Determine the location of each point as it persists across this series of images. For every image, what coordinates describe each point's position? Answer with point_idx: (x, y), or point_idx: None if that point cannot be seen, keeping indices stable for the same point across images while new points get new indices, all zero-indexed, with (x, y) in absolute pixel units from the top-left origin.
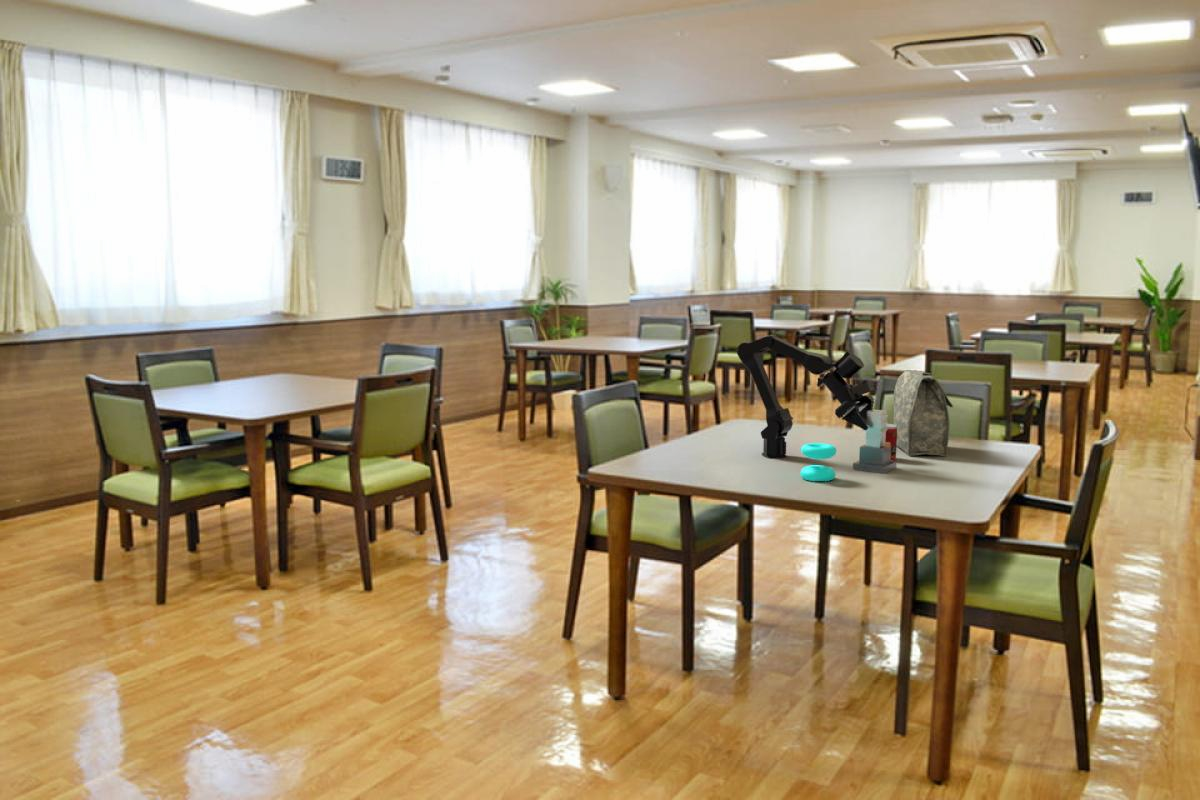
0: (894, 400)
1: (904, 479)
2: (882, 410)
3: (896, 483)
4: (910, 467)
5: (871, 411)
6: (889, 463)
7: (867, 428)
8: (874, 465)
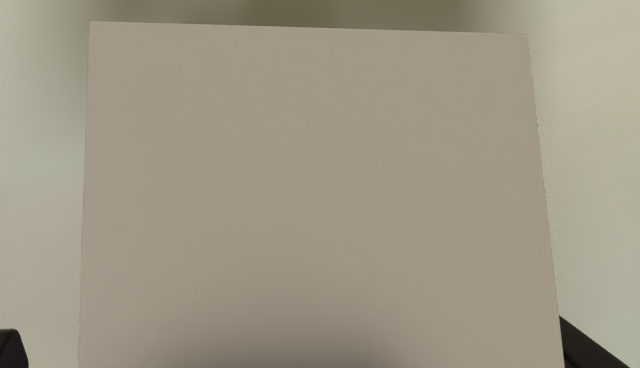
0: None
1: (454, 2)
2: (140, 136)
3: (581, 9)
4: (45, 81)
5: (552, 332)
6: None
7: None
8: None
